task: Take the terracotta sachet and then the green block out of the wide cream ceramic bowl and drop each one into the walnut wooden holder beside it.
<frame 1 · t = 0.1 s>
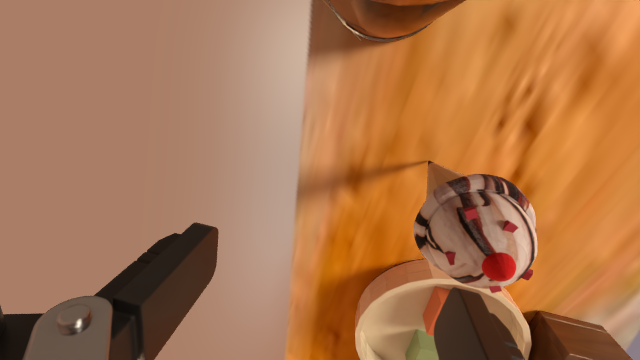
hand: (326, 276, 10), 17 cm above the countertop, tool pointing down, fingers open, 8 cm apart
ice cream cone: (427, 161, 25), on the countertop
green block: (424, 345, 32), resting on bowl
bowl: (432, 321, 31), on the countertop
sachet a: (443, 304, 30), resting on bowl
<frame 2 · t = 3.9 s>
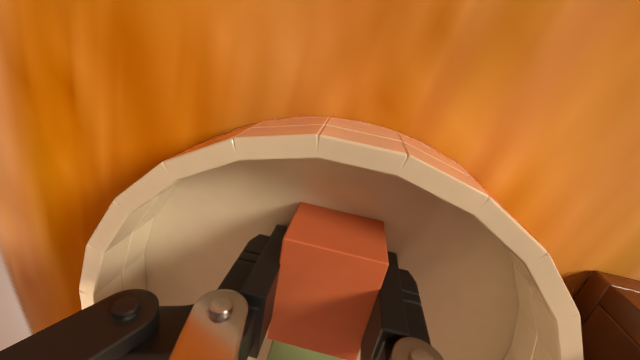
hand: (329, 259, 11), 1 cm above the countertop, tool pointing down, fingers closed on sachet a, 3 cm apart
bowl: (317, 306, 13), on the countertop
sachet a: (330, 257, 11), point 1 cm above the countertop, touching bowl, gripper
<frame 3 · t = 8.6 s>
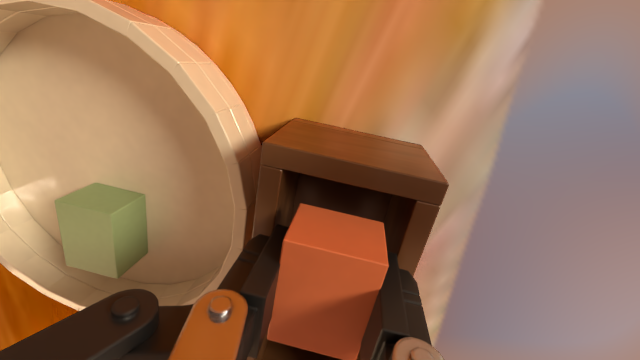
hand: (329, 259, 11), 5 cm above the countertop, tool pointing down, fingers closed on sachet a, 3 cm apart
holder: (329, 249, 16), on the countertop
green block: (123, 218, 17), resting on bowl
bowl: (126, 168, 16), on the countertop
sachet a: (330, 258, 11), point 5 cm above the countertop, touching gripper
when the fingers open (5 cm above the countertop, at t = 12.4 s): sachet a drops 4 cm, resting on holder.
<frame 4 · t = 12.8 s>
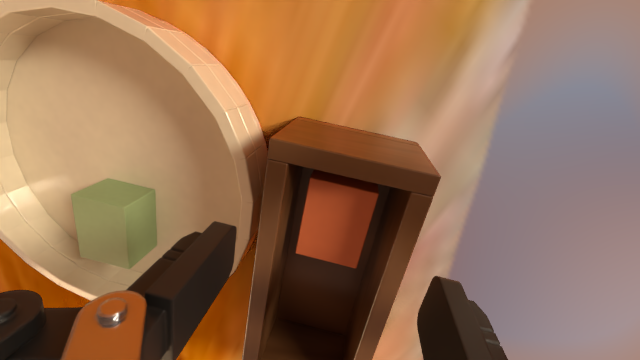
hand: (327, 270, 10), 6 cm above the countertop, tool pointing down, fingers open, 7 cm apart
holder: (330, 241, 17), on the countertop
green block: (133, 212, 18), resting on bowl
bowl: (137, 164, 17), on the countertop
sachet a: (338, 202, 15), point 1 cm above the countertop, touching holder
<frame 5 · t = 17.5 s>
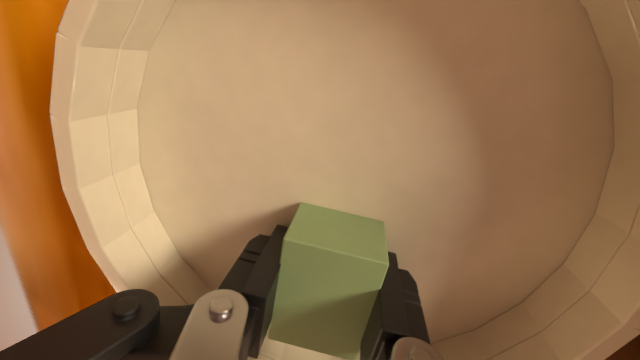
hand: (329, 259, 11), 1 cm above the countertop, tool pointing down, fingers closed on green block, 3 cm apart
green block: (330, 257, 11), point 1 cm above the countertop, touching bowl, gripper
bowl: (349, 179, 10), on the countertop
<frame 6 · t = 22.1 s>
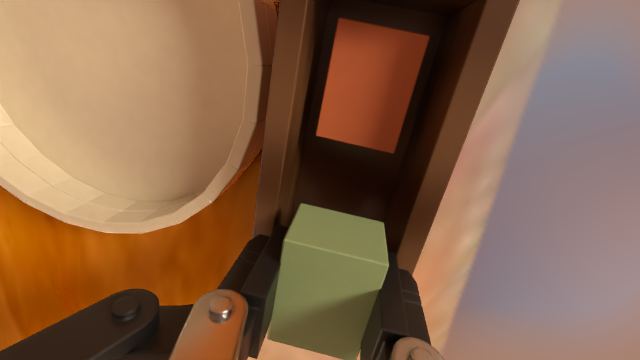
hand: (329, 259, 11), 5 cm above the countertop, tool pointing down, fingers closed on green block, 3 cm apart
holder: (353, 148, 14), on the countertop
green block: (330, 257, 11), point 5 cm above the countertop, touching gripper
bowl: (119, 55, 14), on the countertop
sachet a: (367, 85, 12), point 1 cm above the countertop, touching holder
when the fingers open (5 cm above the countertop, at t = 25.8 s): green block drops 4 cm, resting on holder.
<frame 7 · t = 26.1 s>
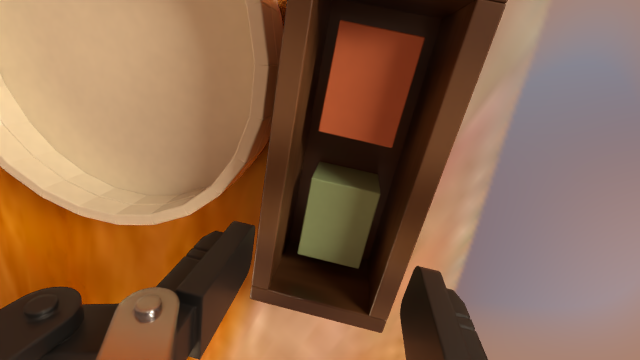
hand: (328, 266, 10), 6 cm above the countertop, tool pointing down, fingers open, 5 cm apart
holder: (353, 144, 15), on the countertop
green block: (340, 202, 15), point 1 cm above the countertop, touching holder
bowl: (130, 55, 15), on the countertop
sachet a: (367, 84, 13), point 1 cm above the countertop, touching holder
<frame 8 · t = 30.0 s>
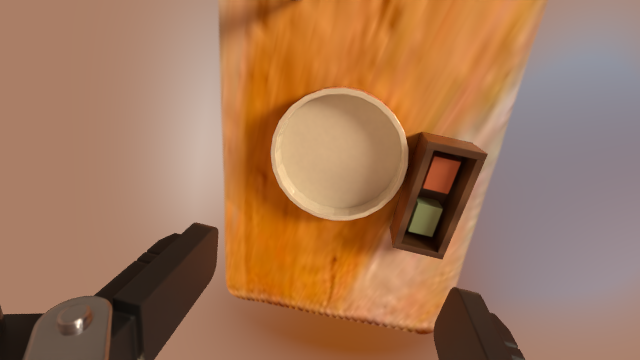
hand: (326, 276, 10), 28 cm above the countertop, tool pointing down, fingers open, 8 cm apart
holder: (427, 188, 38), on the countertop
green block: (421, 211, 38), point 1 cm above the countertop, touching holder
bowl: (339, 153, 37), on the countertop
sachet a: (436, 168, 36), point 1 cm above the countertop, touching holder
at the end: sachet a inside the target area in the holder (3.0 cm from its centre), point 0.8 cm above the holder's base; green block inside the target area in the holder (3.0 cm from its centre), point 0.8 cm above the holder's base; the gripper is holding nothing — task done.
